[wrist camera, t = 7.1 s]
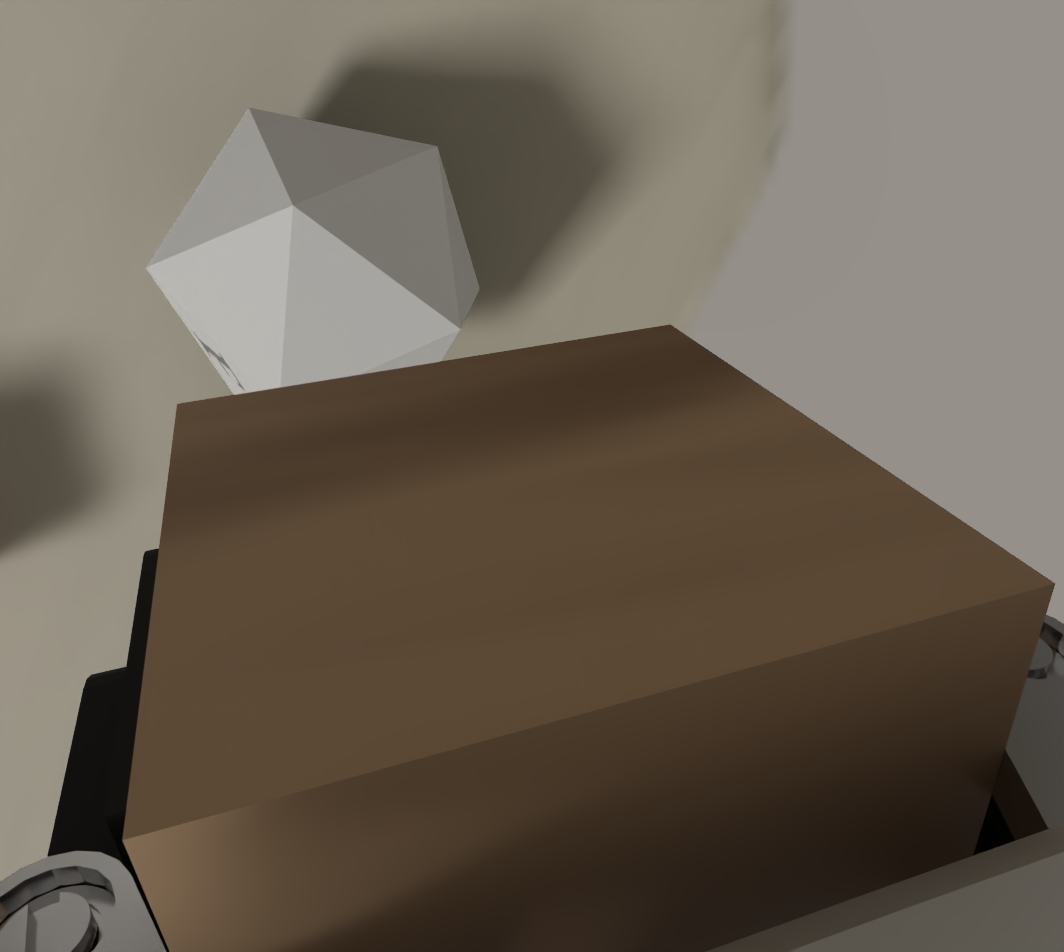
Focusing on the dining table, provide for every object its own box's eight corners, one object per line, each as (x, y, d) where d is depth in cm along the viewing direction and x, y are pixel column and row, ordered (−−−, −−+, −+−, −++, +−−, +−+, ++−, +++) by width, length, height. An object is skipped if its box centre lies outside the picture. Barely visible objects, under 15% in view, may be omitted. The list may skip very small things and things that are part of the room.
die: (185, 64, 25) (30, 295, 19) (470, 32, 23) (388, 279, 17) (297, 279, 31) (205, 497, 26) (526, 268, 29) (478, 501, 24)
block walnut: (177, 403, 9) (122, 840, 4) (670, 324, 11) (1054, 583, 6) (281, 783, 12) (320, 1308, 7) (659, 680, 14) (911, 1058, 9)
